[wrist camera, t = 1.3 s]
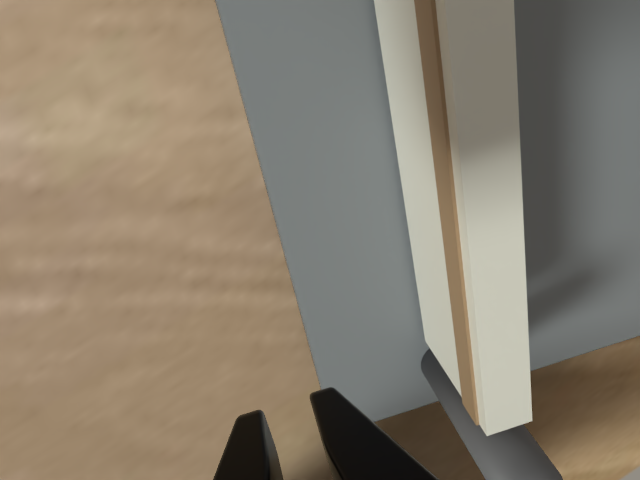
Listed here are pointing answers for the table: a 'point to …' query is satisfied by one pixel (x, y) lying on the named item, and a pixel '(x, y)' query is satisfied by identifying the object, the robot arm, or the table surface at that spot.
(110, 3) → the table surface
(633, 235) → the board
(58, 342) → the table surface
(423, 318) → the gate
